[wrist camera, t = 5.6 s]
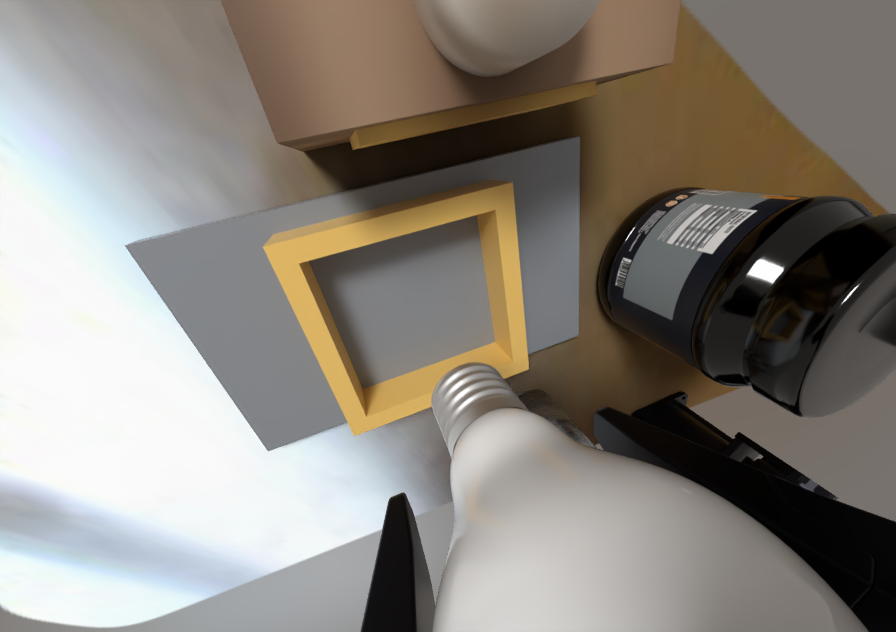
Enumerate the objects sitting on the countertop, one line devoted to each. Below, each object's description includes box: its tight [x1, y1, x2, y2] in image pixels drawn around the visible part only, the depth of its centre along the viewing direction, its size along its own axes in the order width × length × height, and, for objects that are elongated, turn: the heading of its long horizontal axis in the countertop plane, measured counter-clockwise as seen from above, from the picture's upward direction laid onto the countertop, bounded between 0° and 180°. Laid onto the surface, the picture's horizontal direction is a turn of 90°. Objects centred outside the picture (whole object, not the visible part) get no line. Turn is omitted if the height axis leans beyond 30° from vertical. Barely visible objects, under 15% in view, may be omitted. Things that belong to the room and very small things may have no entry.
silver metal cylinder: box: [518, 390, 597, 449], centre depth 24 cm, size 4×4×6 cm
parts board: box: [125, 137, 580, 451], centre depth 18 cm, size 22×13×4 cm, turn 102°
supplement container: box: [598, 187, 896, 419], centre depth 19 cm, size 10×10×12 cm
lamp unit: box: [221, 0, 681, 152], centre depth 10 cm, size 12×5×10 cm, turn 102°
